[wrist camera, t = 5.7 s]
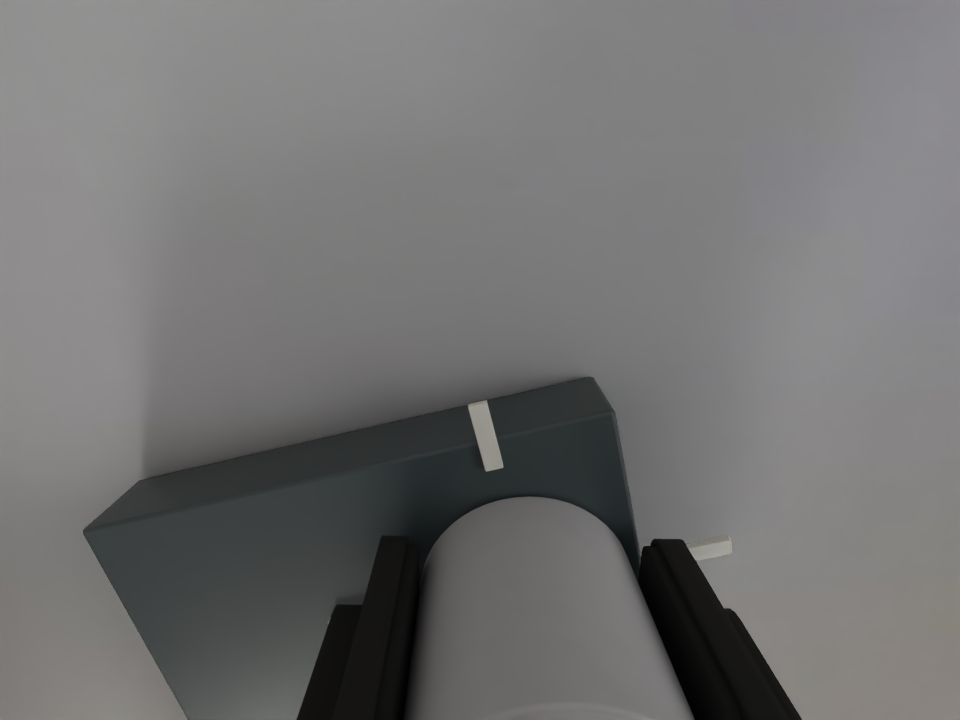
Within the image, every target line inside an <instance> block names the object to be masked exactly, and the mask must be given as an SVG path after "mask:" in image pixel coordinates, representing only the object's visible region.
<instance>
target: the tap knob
mask: <svg viewBox="0 0 960 720" xmlns="http://www.w3.org/2000/svg"><path fill="white" fill-rule="evenodd" d="M402 720H695V719H694V716H693V714H692V711H691V709H690V707H689V704H688V702H687V699H686V697H685V695H684V692H683V690H682V687H681V685H680V683H679V680H678V678H677V675H676V673H675V671H674V668H673V666H672V663H671V661H670V659H669V656H668V654H667V651H666V649H665V646H664V644H663V642H662V639H661V637H660V634H659V632H658V630H657V627H656V625H655V622H654V620H653V618H652V615H651V613H650V610H649V608H648V606H647V603H646V601H645V598H644V596H643V594H642V591H641V589H640V586H639V584H638V582H637V579H636V577H635V574H634V572H633V569H632V567H631V565H630V562H629V560H628V557H627V555H626V553H625V551H624V549H623V547H622V545H621V543H620V541H619V540H618V539H617V537H616V536H615V534H614V533H613V532H612V531H611V530H610V529H609V528H608V527H607V526H606V524H604V523H603V522H602V521H601V520H599V519H598V518H597V517H596V516H594V515H592V514H591V513H589V512H587V511H586V510H584V509H582V508H580V507H577V506H575V505H573V504H570V503H567V502H564V501H560V500H557V499H551V498H545V497H530V496H528V497H514V498H508V499H502V500H498V501H495V502H492V503H488V504H485V505H483V506H481V507H478V508H476V509H474V510H472V511H470V512H469V513H467V514H465V515H464V516H462V517H461V518H459V519H458V520H457V521H455V522H454V523H453V524H452V525H451V526H450V527H449V528H448V529H447V530H446V531H445V532H444V533H443V534H442V535H441V536H440V537H439V539H438V540H437V541H436V542H435V544H434V545H433V547H432V549H431V551H430V553H429V554H428V557H427V559H426V562H425V565H424V568H423V573H422V578H421V586H420V593H419V601H418V608H417V615H416V623H415V630H414V638H413V645H412V652H411V660H410V667H409V675H408V682H407V689H406V697H405V704H404V712H403V719H402Z"/></svg>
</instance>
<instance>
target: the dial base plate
mask: <svg viewBox="0 0 960 720" xmlns="http://www.w3.org/2000/svg"><path fill="white" fill-rule="evenodd" d="M528 496H530V497H545V498H551V499H557V500H560V501H564V502H567V503H570V504H573V505H575V506H577V507H580V508H582V509H584V510H586V511H587V512H589V513H591V514H592V515H594V516H596V517H597V518H598V519H599V520H601V521H602V522H603V523H604V524H606V526H607V527H608V528H609V529H610V530H611V531H612V532H613V533H614V534H615V536H616V537H617V539H618V540H619V541H620V543H621V545H622V547H623V549H624V551H625V553H626V555H627V557H628V560H629V562H630V565H631V567H632V569H633V572H634V574H635V577H636V579H637V582H638V577H639V569H640V562H641V555H640V549H639V543H638V538H637V532H636V527H635V521H634V515H633V510H632V504H631V499H630V493H629V487H628V482H627V476H626V470H625V465H624V459H623V454H622V448H621V442H620V437H619V431H618V426H617V420H616V414H615V412H614V410H613V408H612V407H611V405H610V404H609V402H608V400H607V399H606V397H605V396H604V394H603V392H602V391H601V389H600V388H599V386H598V385H597V383H596V381H595V380H594V378H593V377H588V378H584V379H579V380H575V381H571V382H566V383H562V384H558V385H553V386H549V387H544V388H540V389H536V390H531V391H527V392H523V393H518V394H514V395H510V396H505V397H501V398H497V399H492V400H488V401H486V400H484V401H480V402H476V403H471V404H468V405H466V406H462V407H457V408H453V409H449V410H444V411H440V412H436V413H431V414H427V415H423V416H418V417H414V418H410V419H405V420H401V421H396V422H392V423H388V424H383V425H379V426H375V427H370V428H366V429H362V430H357V431H353V432H349V433H344V434H340V435H336V436H331V437H327V438H322V439H318V440H314V441H309V442H305V443H301V444H296V445H292V446H288V447H283V448H279V449H275V450H270V451H266V452H262V453H257V454H253V455H248V456H244V457H240V458H235V459H231V460H227V461H222V462H218V463H214V464H209V465H205V466H201V467H196V468H192V469H188V470H183V471H179V472H174V473H170V474H166V475H161V476H157V477H153V478H148V479H144V480H140V481H138V482H137V483H136V484H135V485H134V486H133V487H131V488H130V489H129V490H128V491H127V492H126V493H125V494H123V495H122V496H121V497H120V498H119V499H118V500H117V501H115V502H114V503H113V504H112V505H111V506H110V507H109V508H107V509H106V510H105V511H104V512H103V513H102V514H101V515H99V516H98V517H97V518H96V519H95V520H94V521H93V522H91V523H90V524H89V525H88V526H87V527H86V528H85V529H84V530H83V534H84V536H85V538H86V540H87V541H88V543H89V545H90V547H91V549H92V550H93V552H94V554H95V556H96V557H97V559H98V561H99V563H100V564H101V566H102V568H103V570H104V572H105V573H106V575H107V577H108V579H109V580H110V582H111V584H112V586H113V587H114V589H115V591H116V593H117V595H118V596H119V598H120V600H121V602H122V603H123V605H124V607H125V609H126V610H127V612H128V614H129V616H130V618H131V619H132V621H133V623H134V625H135V626H136V628H137V630H138V632H139V634H140V635H141V637H142V639H143V641H144V642H145V644H146V646H147V648H148V649H149V651H150V653H151V655H152V657H153V658H154V660H155V662H156V664H157V665H158V667H159V669H160V671H161V672H162V674H163V676H164V678H165V680H166V681H167V683H168V685H169V687H170V688H171V690H172V692H173V694H174V695H175V697H176V699H177V701H178V703H179V704H180V706H181V708H182V710H183V711H184V713H185V715H186V717H187V718H188V720H297V717H298V714H299V711H300V708H301V705H302V702H303V699H304V696H305V693H306V690H307V687H308V684H309V681H310V678H311V675H312V672H313V669H314V666H315V663H316V660H317V657H318V654H319V651H320V648H321V645H322V642H323V639H324V636H325V633H326V630H327V627H328V624H329V621H330V618H331V615H332V613H333V610H334V608H335V606H336V605H337V604H345V605H363V602H364V598H365V594H366V590H367V587H368V583H369V579H370V575H371V572H372V568H373V564H374V560H375V557H376V553H377V549H378V546H379V542H380V538H381V536H382V535H384V536H409V543H418V544H419V585H420V586H421V578H422V573H423V568H424V565H425V562H426V559H427V557H428V554H429V553H430V551H431V549H432V547H433V545H434V544H435V542H436V541H437V540H438V539H439V537H440V536H441V535H442V534H443V533H444V532H445V531H446V530H447V529H448V528H449V527H450V526H451V525H452V524H453V523H454V522H455V521H457V520H458V519H459V518H461V517H462V516H464V515H465V514H467V513H469V512H470V511H472V510H474V509H476V508H478V507H481V506H483V505H485V504H488V503H492V502H495V501H498V500H502V499H508V498H514V497H528ZM686 545H687V547H688V549H689V551H690V552H691V554H692V556H693V557H694V559H695V561H700V560H705V559H710V558H715V557H719V556H724V555H729V554H732V546H731V540H730V538H729V537H728V536H722V537H717V538H712V539H708V540H703V541H698V542H693V543H688V544H686Z"/></svg>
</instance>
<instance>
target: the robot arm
mask: <svg viewBox="0 0 960 720" xmlns="http://www.w3.org/2000/svg"><path fill="white" fill-rule="evenodd" d="M638 584H639V586H640V589H641V591H642V594H643V596H644V598H645V601H646V603H647V606H648V608H649V610H650V613H651V615H652V618H653V620H654V622H655V625H656V627H657V630H658V632H659V634H660V637H661V639H662V642H663V644H664V646H665V649H666V651H667V654H668V656H669V659H670V661H671V663H672V666H673V668H674V671H675V673H676V675H677V678H678V680H679V683H680V685H681V687H682V690H683V692H684V695H685V697H686V699H687V702H688V704H689V707H690V709H691V711H692V714H693V716H694V719H695V720H802V719H801V717H800V716H799V714H798V712H797V711H796V709H795V708H794V706H793V704H792V703H791V701H790V699H789V698H788V696H787V695H786V693H785V691H784V690H783V688H782V686H781V685H780V683H779V682H778V680H777V678H776V677H775V675H774V673H773V672H772V670H771V669H770V667H769V665H768V664H767V662H766V660H765V659H764V657H763V656H762V654H761V652H760V651H759V649H758V647H757V646H756V644H755V643H754V641H753V639H752V638H751V636H750V634H749V633H748V631H747V630H746V628H745V626H744V625H743V623H742V621H741V620H740V618H739V617H738V616H737V614H736V613H735V612H734V611H732V610H731V609H724V608H723V606H722V605H721V603H720V601H719V600H718V598H717V596H716V594H715V593H714V591H713V589H712V588H711V586H710V584H709V583H708V581H707V579H706V578H705V576H704V574H703V573H702V571H701V569H700V567H699V566H698V564H697V562H696V561H695V559H694V557H693V556H692V554H691V552H690V551H689V549H688V547H687V545H686V544H685V543H684V541H683V540H681V539H654V540H652V542H651V546H645V547H643V550H642V555H641V562H640V569H639V577H638ZM419 593H420V585H419V544H418V543H409V536H384V535H382V536H381V538H380V542H379V546H378V549H377V553H376V557H375V560H374V564H373V568H372V572H371V575H370V579H369V583H368V587H367V590H366V594H365V598H364V602H363V605H345V604H337V605H336V606H335V608H334V610H333V613H332V615H331V618H330V621H329V624H328V627H327V630H326V633H325V636H324V639H323V642H322V645H321V648H320V651H319V654H318V657H317V660H316V663H315V666H314V669H313V672H312V675H311V678H310V681H309V684H308V687H307V690H306V693H305V696H304V699H303V702H302V705H301V708H300V711H299V714H298V717H297V720H402V719H403V712H404V704H405V697H406V689H407V682H408V675H409V667H410V660H411V652H412V645H413V638H414V630H415V623H416V615H417V608H418V601H419Z"/></svg>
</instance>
